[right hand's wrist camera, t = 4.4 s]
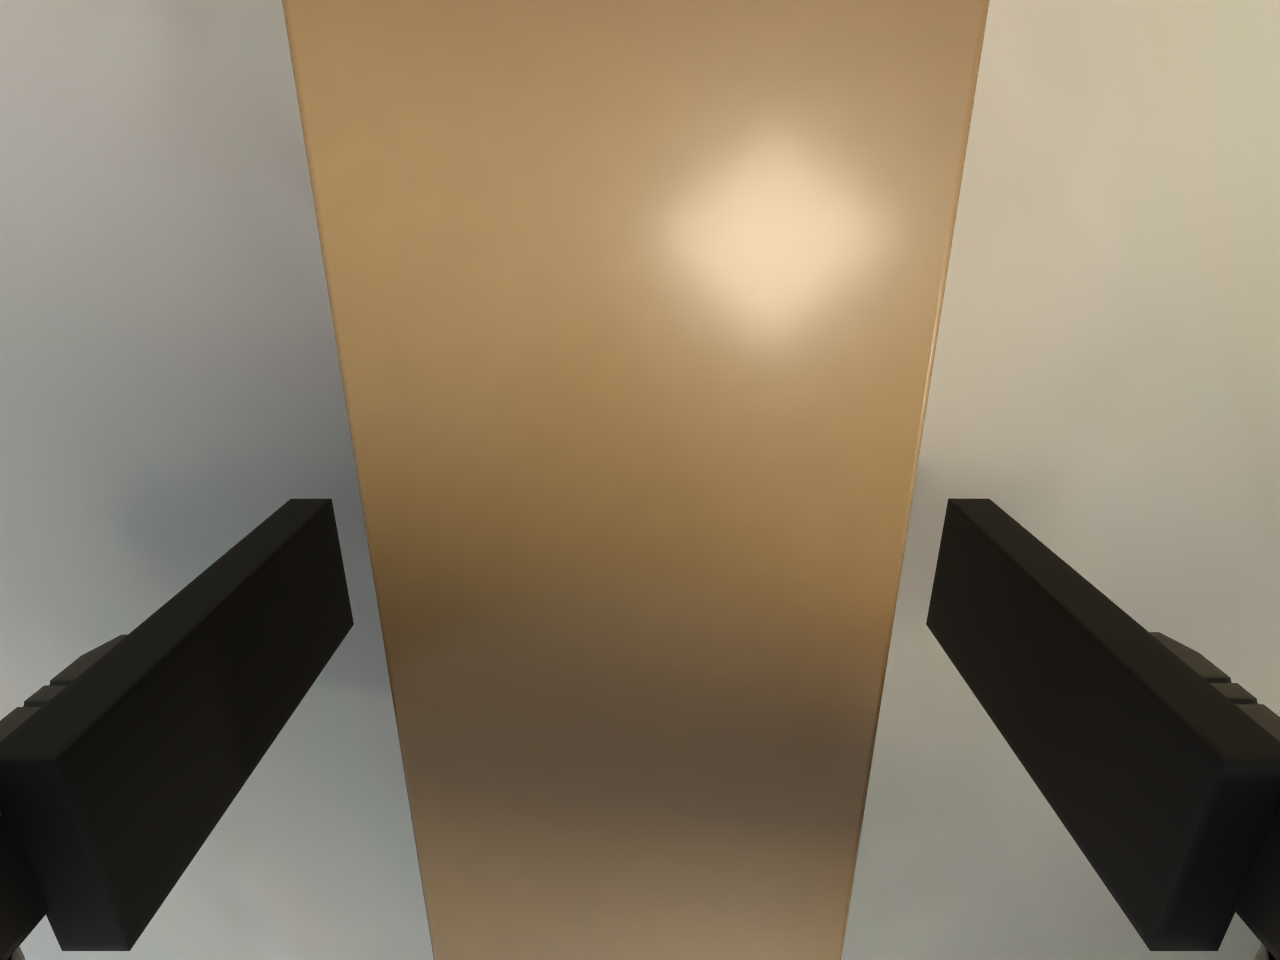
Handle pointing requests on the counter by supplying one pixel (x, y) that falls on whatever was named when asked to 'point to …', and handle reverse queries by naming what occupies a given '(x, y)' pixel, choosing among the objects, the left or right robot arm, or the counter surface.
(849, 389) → the post
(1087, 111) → the counter surface
